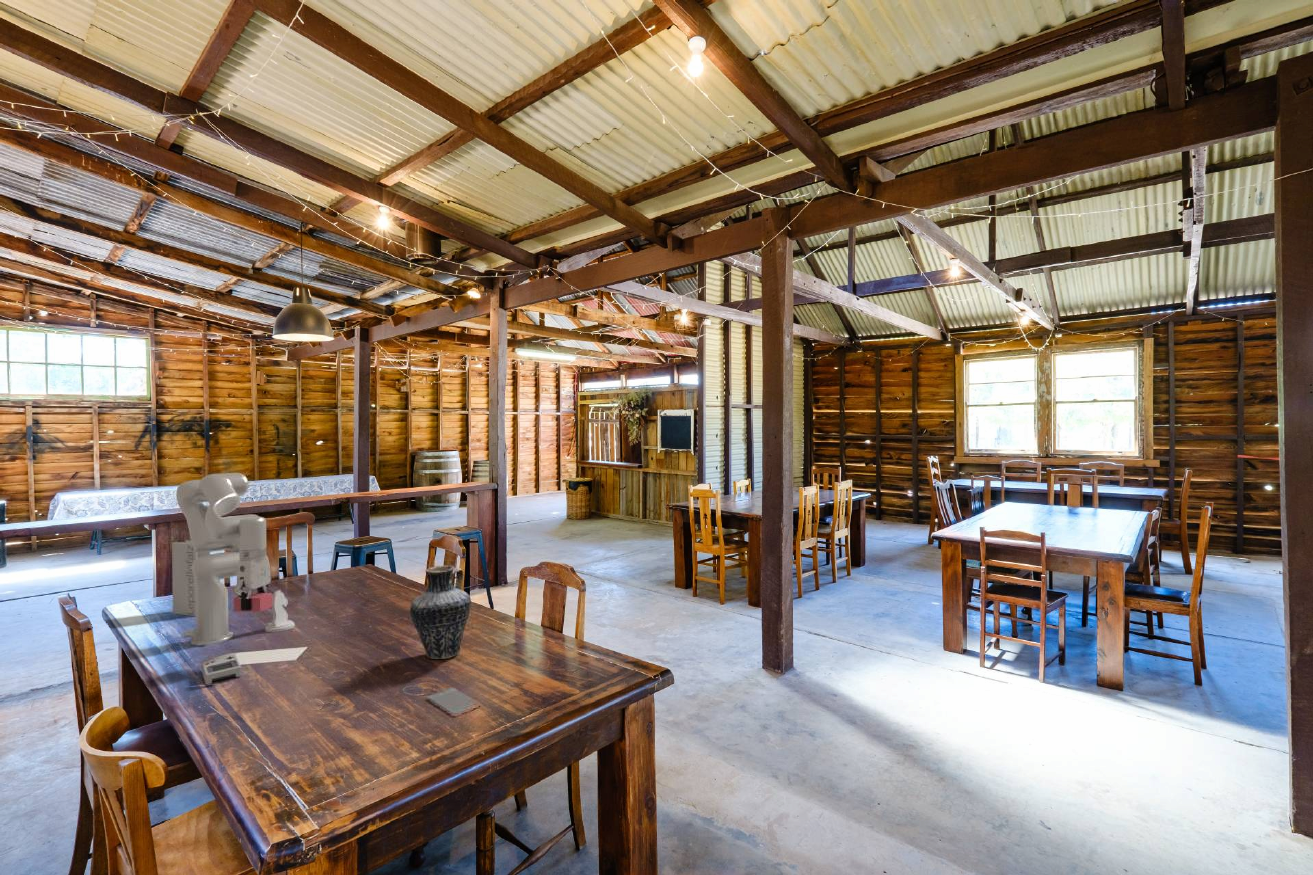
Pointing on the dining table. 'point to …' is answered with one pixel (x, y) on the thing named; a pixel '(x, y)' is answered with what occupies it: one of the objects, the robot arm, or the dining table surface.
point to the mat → (269, 655)
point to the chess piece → (279, 614)
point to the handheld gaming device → (221, 667)
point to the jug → (441, 612)
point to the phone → (451, 700)
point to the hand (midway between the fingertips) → (253, 606)
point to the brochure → (184, 577)
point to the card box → (256, 602)
